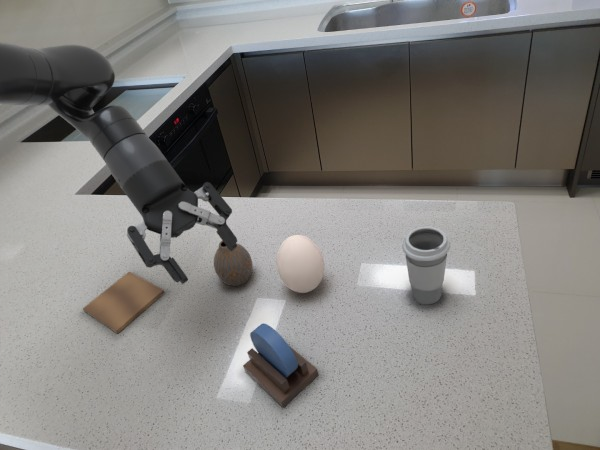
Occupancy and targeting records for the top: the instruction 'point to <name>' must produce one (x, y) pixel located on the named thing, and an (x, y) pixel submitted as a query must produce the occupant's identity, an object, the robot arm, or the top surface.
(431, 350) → the top surface
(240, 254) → the vase
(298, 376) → the rack
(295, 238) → the egg
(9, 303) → the top surface
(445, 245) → the cup
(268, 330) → the disc
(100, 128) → the robot arm
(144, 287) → the plate
